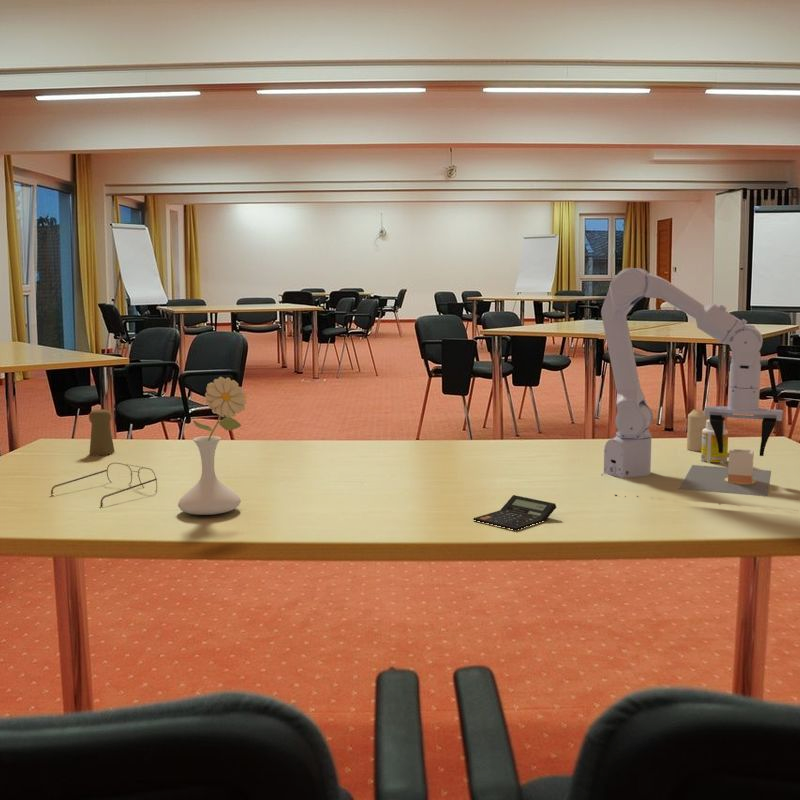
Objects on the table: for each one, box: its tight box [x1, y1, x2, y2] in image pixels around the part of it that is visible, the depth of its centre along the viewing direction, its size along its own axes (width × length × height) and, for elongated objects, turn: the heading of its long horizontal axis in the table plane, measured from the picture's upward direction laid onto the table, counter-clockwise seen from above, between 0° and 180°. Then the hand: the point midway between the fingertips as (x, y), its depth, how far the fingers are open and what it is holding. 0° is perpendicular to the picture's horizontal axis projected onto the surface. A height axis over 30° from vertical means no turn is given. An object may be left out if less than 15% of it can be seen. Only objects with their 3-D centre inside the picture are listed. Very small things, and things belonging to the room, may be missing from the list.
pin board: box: [678, 464, 772, 497], centre depth 179 cm, size 24×16×5 cm, turn 156°
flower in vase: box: [177, 376, 247, 516], centre depth 160 cm, size 13×11×25 cm
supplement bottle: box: [700, 419, 729, 464], centre depth 197 cm, size 6×6×10 cm
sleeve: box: [727, 448, 755, 483], centre depth 177 cm, size 4×4×6 cm
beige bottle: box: [686, 408, 710, 452], centre depth 215 cm, size 6×6×10 cm
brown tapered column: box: [88, 408, 116, 456], centre depth 218 cm, size 6×6×11 cm
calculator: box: [472, 494, 557, 530], centre depth 155 cm, size 9×12×3 cm
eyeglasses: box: [50, 462, 158, 506], centre depth 177 cm, size 16×15×5 cm
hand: (741, 453), depth 177 cm, fingers open, 7 cm apart
